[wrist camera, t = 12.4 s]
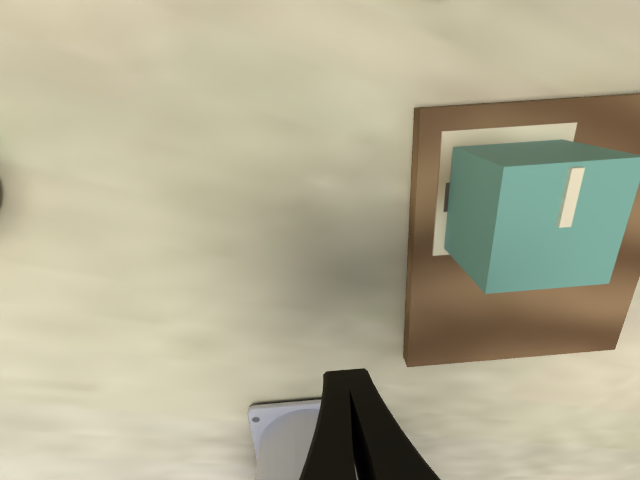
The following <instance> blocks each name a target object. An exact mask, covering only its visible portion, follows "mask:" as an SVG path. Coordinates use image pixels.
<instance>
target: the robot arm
mask: <svg viewBox="0 0 640 480" xmlns="http://www.w3.org/2000/svg"><path fill="white" fill-rule="evenodd" d="M256 417H257V418H256ZM248 418H249V423H250V429H251V434H252V439H253V444H254V450H255V455H256V460H257V470H256V479H255V480H440V479H439V477H438V476H437V475H436V474H435V473H434V471H433V470H432V469H431V468H430V467H429V465H428V464H427V463H426V462H425V460H424V459H423V458H422V457H421V455H420V454H419V453H418V451H417V450H416V449H415V447H414V446H413V445H412V443H411V442H410V441H409V439H408V438H407V436H406V435H405V434H404V432H403V431H402V429H401V428H400V426H399V425H398V423H397V422H396V420H395V419H394V417H393V416H392V414H391V413H390V411H389V410H388V408H387V406H386V405H385V403H384V401H383V400H382V398H381V396H380V395H379V393H378V391H377V389H376V387H375V385H374V384H373V382H372V380H371V377H370V375H369V373H368V371H367V370H366V369H364V368H363V369H351V370H339V371H327V372H326V373H325V374H323V393H322V399H320V400H308V401H297V402H285V403H274V404H262V405H253V406H251V407H250V408H249V409H248Z"/></svg>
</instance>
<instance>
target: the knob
mask: <svg viewBox="0 0 640 480" xmlns="http://www.w3.org/2000/svg"><path fill="white" fill-rule="evenodd" d="M639 183H640V155H637V154H632V153H627V152H622V151H617V150H612V149H607V148H602V147H597V146H593V145H588V144H583V143H578V142H573V141H568V140H563V139H560V140H545V141H531V142H516V143H502V144H487V145H473V146H459V147H453V153H452V165H451V176H450V188H449V199H448V210H447V222H446V233H445V244H444V249H445V250H446V251H447V252H448V253H449V254H450V256H451V257H452V258H453V259H454V260H455V261H456V262H457V263H458V264H459V265H460V267H461V268H462V269H463V270H464V271H465V272H466V273H467V274H468V275H469V277H470V278H471V279H472V280H473V281H474V282H475V283H476V284H477V285H478V286H479V288H480V289H481V290H482V291H483V292H484V293H485V294H491V293H503V292H515V291H527V290H539V289H551V288H563V287H575V286H587V285H599V284H609V282H610V279H611V275H612V272H613V269H614V265H615V262H616V259H617V255H618V252H619V249H620V245H621V242H622V239H623V236H624V232H625V229H626V226H627V222H628V219H629V216H630V212H631V209H632V206H633V202H634V199H635V196H636V192H637V189H638V186H639Z"/></svg>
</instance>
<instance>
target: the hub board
mask: <svg viewBox="0 0 640 480" xmlns="http://www.w3.org/2000/svg"><path fill="white" fill-rule="evenodd" d="M560 139H563V140H568V141H573V142H578V143H583V144H588V145H593V146H597V147H602V148H607V149H612V150H617V151H622V152H627V153H632V154H637V155H640V93H637V94H622V95H606V96H591V97H575V98H560V99H544V100H529V101H513V102H498V103H482V104H467V105H451V106H436V107H420V108H414V129H413V152H412V174H411V197H410V219H409V241H408V264H407V286H406V309H405V331H404V354H403V357H404V360H405V362H406V365H407V367H415V366H426V365H438V364H450V363H462V362H473V361H485V360H497V359H509V358H520V357H532V356H544V355H556V354H567V353H579V352H591V351H603V350H614V349H615V347H616V344H617V341H618V339H619V336H620V333H621V330H622V327H623V324H624V321H625V318H626V315H627V312H628V309H629V306H630V303H631V300H632V297H633V294H634V291H635V288H636V285H637V282H638V279H639V276H640V183H639V186H638V189H637V192H636V196H635V199H634V202H633V206H632V209H631V212H630V216H629V219H628V222H627V226H626V229H625V232H624V236H623V239H622V242H621V245H620V249H619V252H618V255H617V259H616V262H615V265H614V269H613V272H612V275H611V279H610V282H609V284H599V285H587V286H575V287H563V288H551V289H539V290H527V291H515V292H503V293H491V294H485V293H484V292H483V291H482V290H481V289H480V288H479V286H478V285H477V284H476V283H475V282H474V281H473V280H472V279H471V278H470V277H469V275H468V274H467V273H466V272H465V271H464V270H463V269H462V268H461V267H460V265H459V264H458V263H457V262H456V261H455V260H454V259H453V258H452V257H451V256H450V254H449V253H448V252H447V251H446V250H445V249H444V244H445V233H446V222H447V210H448V199H449V188H450V176H451V165H452V153H453V147H459V146H473V145H487V144H502V143H516V142H531V141H545V140H560Z"/></svg>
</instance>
